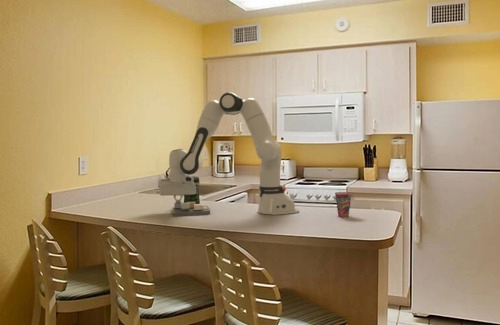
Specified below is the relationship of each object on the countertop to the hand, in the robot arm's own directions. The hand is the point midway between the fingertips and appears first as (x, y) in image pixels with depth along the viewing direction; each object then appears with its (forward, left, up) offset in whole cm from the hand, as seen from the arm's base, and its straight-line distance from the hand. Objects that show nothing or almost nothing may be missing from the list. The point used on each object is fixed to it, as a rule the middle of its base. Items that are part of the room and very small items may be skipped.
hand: (178, 202), depth 247 cm
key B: (-4, +9, -1) cm, 10 cm away
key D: (0, 0, -3) cm, 3 cm away
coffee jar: (-8, -11, -5) cm, 15 cm away
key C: (-7, 0, -3) cm, 8 cm away
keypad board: (-7, +5, -5) cm, 9 cm away
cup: (-82, +39, -5) cm, 91 cm away
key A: (-11, +9, -3) cm, 14 cm away
